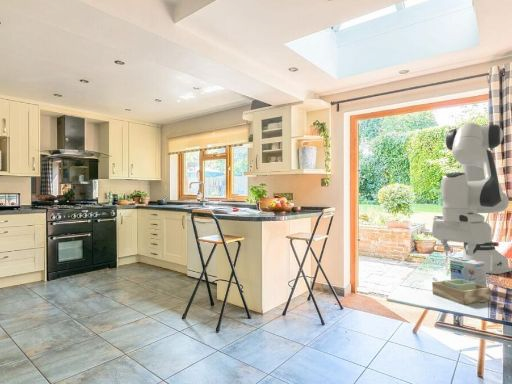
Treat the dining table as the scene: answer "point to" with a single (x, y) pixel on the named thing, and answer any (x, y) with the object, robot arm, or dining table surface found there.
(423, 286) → the dining table surface
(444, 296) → the birch crate
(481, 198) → the robot arm
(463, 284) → the green crate
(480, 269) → the light bulb box
